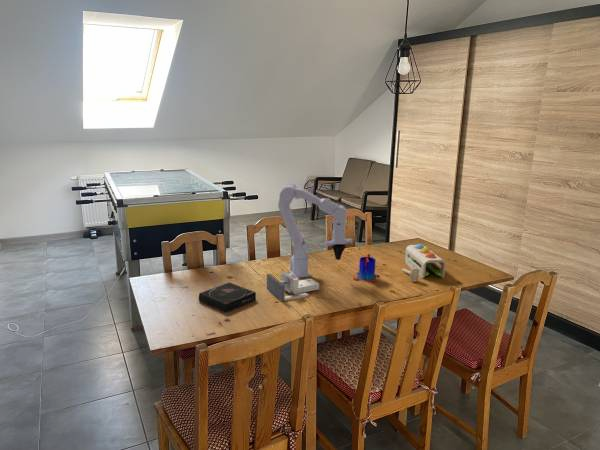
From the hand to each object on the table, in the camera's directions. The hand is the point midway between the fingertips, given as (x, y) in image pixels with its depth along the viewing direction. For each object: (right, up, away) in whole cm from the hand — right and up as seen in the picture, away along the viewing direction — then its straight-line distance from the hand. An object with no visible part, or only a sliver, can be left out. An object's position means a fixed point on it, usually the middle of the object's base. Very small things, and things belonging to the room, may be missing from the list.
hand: (337, 259), depth 218 cm
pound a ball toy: (+42, -8, +13) cm, 44 cm away
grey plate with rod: (-24, -13, -16) cm, 32 cm away
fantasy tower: (+14, -10, +3) cm, 17 cm away
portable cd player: (-48, -16, -25) cm, 57 cm away
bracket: (-17, -13, -13) cm, 25 cm away
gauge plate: (-24, -13, -18) cm, 32 cm away
